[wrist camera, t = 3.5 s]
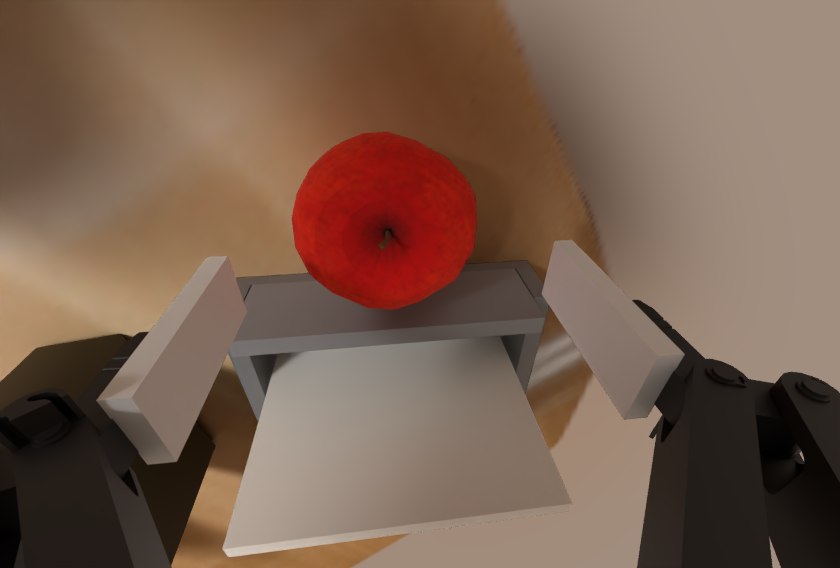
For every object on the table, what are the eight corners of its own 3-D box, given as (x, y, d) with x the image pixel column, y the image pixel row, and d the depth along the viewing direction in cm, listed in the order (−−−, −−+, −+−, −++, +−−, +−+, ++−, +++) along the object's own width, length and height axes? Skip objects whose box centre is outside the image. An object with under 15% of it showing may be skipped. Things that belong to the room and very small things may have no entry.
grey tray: (236, 277, 25) (197, 350, 19) (527, 260, 27) (569, 321, 21) (293, 439, 36) (279, 515, 31) (493, 419, 38) (515, 486, 33)
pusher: (278, 350, 27) (222, 549, 17) (498, 332, 29) (572, 503, 19) (294, 399, 31) (255, 590, 20) (489, 381, 33) (547, 548, 22)
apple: (462, 116, 21) (504, 153, 14) (444, 249, 26) (470, 321, 19) (301, 106, 19) (269, 142, 13) (316, 248, 24) (298, 325, 18)
